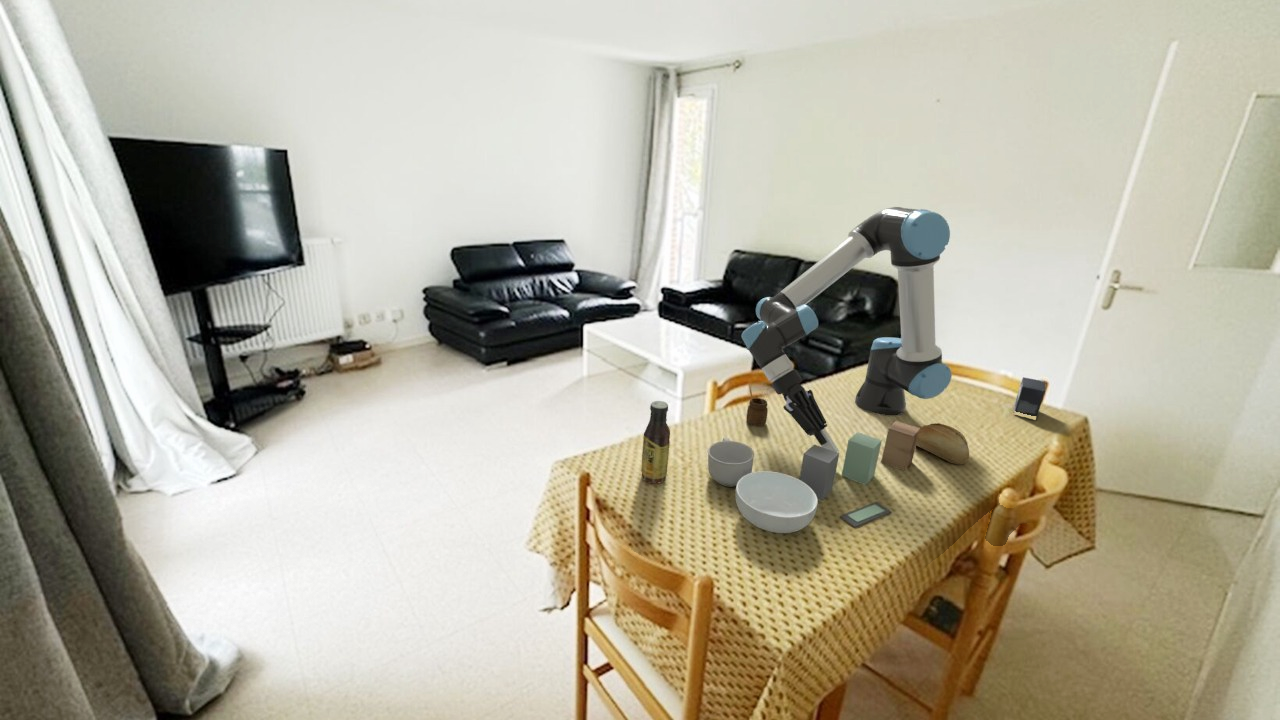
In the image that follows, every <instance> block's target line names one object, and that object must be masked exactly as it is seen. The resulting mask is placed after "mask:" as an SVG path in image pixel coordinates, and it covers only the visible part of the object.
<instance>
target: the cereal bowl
mask: <svg viewBox="0 0 1280 720" xmlns="http://www.w3.org/2000/svg"><path fill="white" fill-rule="evenodd" d="M799 479H800V478H799ZM799 479H798V478H797V477H794V476H792V475H789V474H787V473H783V472H779V471H778V472H777V471H771V470H770V471H767V470H766V471H761V470H760V471H754V472H752V473H750V474H747V475H745V476H743V477H742V478H741V479H740V480H739V481H738V483H737V486H735V493H734V494H735V503H736V505H737V508H738V510H739V513H740V514H741V515H742V516H743V517H744V519H746V520H747V521H748V522H749V523H750V524H751V525H753V526H754V527H757V528H759V529H761V530H764V531H766V532H771V533H775V534H776V533H777V534H788V533H790V534H791V533H794V532H798V531H800V530H802V529H804V528H806V527H807V526H808V525H809V524H811V522H812V520H813V519H814V517H815V515H816V512H817V507H818V503H819V500H818V499H817V496H816V494H815V493H814V491H813V490H812V489H811V488H810V487H809V486H808V485H807V484H805V483H804V482H802V481H800V480H799Z"/></svg>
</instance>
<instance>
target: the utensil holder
mask: <svg viewBox="0 0 1280 720" xmlns="http://www.w3.org/2000/svg"><path fill="white" fill-rule="evenodd" d="M748 387H749V388H748V389H749V395H750V400H749V403H748V406H747V409H746V419H745V421H746V423H747V422H748V423H749V425H750V424H751V425H750V426H753V427H762V426H765V425H766V423H767V421H768V400H767V398H768V399H769V398H770V395H771V393H770V392H771V391H770V390H769V389H768V388H765V389H763V391H762V392H761V394H762V395H761V397H753V394H752V393H753V392H752V388H751V387H752V386H751V385H750V384H748ZM766 391H767V393H768V395H769V396H768V395H766V397H765V394H766ZM748 423H747V424H748Z"/></svg>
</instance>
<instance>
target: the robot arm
mask: <svg viewBox="0 0 1280 720" xmlns="http://www.w3.org/2000/svg"><path fill="white" fill-rule="evenodd" d="M950 238H951V230H950V226H949V223H948V221H947V220H946V219H945V216H942V215H941V214H940V213H938V212H936V211H931V210H928V209H924V208H923V209H922V208H921V209H916V208H906V207H899V206H894V207H888V208H885V209H882V210H880V211H877V212H875V213H874V214H872V215H871V216H870V217H868V218H866V219H865V220H863V221H862V222H860V223H859V224H858V225H857V226H856V227H854V228H853V229H852V230H850V231H849V232H848V235H847V238H846V239H845V240H843V241H842V242H841V243H840V244H839V245H837V246H836V247H835V248H833V249H832V250H831V251H830V252H828V254H826V255H825V256H823V257H822V258H821V259H819V261H817V262H815V263H814V264H813V265H812V266H811V267H810V268H808V269H807V270H806V271H805V272H803V273H802V274H800V275H799V276H798V277H797V278H796V279H794V280H793V281H792V282H790V283H789V284H788V285H787V286H786V287H785V288H783V289H782V290H781V291H779V292H778V293H777V294H776V295H774V296H772V297H771V296H766V297H764V298H762V299H760V300H759V301H758V302H757V303H756V307H755V314H756V317H757V318H758V319H759V320H758V321H757V322H755V323H752V325H750V326H748V327H747V328H746V329H744V330H743V332H742V333H741V340H742V341H743V342H744V344H745V347H746V349H747V350H748V351H749V353H750V354H751V356H752V357H753V359H754V360H755V362H756V363H757V365H758V366H759V368H760V369H761V370H762V372H763V375H765V377H766V379H767V380H768V381H769V382H771V387H772V388H773V390H774V391H775V393H776V394H777V395H782V396H783V399H784V401H785V402H786V403H785V405H783V407H782V408H783V410H785V411H786V412H787V413H788V414H790V416H791V417H792V418H793V420H795V422H796V423H797V425H799V426H800V428H801V429H802V430H803V432H804V433H805V434H807V436H810V437H812V436H814V437H815V439H816V440H817V441H818V443H819V446H820V447H823V448H826V449H828V450H831V451H834V452H837V453H839V448H838V447H837V445H836V444H835V442H834V440H833V439H832V437H831V436H830V435H829V433H828V432H827V430H826V429H825V428H827V427H828V424H827V421H826V418H825V417H824V414H823V413H822V411H821V408H820V406H819V405H818V403H817V401H816V399H815V397H814V392H813V390H811V389H809V390H806V389H805V387H803V386H802V384H801V383H802V381H803V378H802V377H801V375H800V374H799V372H798V370H797V369H795V368H794V364H793V362H792V361H791V360H790V358H789V357H788V356H787V354H786V352H785V351H784V349H785V348H787V347H788V346H790V345H791V344H794V343H795V342H797V341H799V340H800V339H802V338H803V337H806V336H808V335H809V334H810V333H811V332H813V331H814V330H816V329H817V328H818V327H819V318H818V317H817V315H816V313H815V311H814V310H813V309H812V308H811V306H809V305H807V304H808V303H809V302H811V301H812V300H814V299H815V298H816V297H818V296H819V295H820V294H821V293H823V292H824V291H825V290H826V289H828V288H829V287H830V286H831V285H833V284H834V283H835V282H837V281H838V280H839V279H840V278H842V277H843V276H844V275H845V274H846V273H848V272H849V271H850V270H852V269H853V268H854V267H855V266H857V265H858V264H859V263H860V262H862V261H863V260H864V259H872V258H873V257H874V256H875V255H877V254H878V253H880V252H883V251H888V252H889V251H890V263H891V266H892V267H894V268H896V269H897V278H898V279H897V280H898V282H897V283H898V298H899V299H898V302H899V314H900V315H899V320H900V335H901V336H900V338H899V337H891V336H890V337H887V336H885V337H884V336H883V337H877V338H876V339H874V340H873V342H872V345H871V347H870V352H869V359H868V364H867V368H866V374H865V379H864V382H863V383H862V384H861V387H860V388H859V389H858V391H857V393H856V394H855V401H854V403H855V405H857V407H859V408H861V409H862V410H864V411H866V412H869V413H871V414H872V413H873V414H876V415H881V416H889V417H890V416H892V417H893V416H901V415H903V414H904V413H905V412H906V408H907V407H906V406H907V402H906V395H905V392H907V393H909V395H912V396H915V397H917V398H919V399H920V400H921V399H922V400H928V399H933V398H935V397H938V396H939V395H941V394H942V393H943V392H944V391H945V390H946V389H947V388H948V386H949V385H950V383H951V381H952V373H953V372H952V369H951V367H949V366H948V365H947V364H946V363H943V353H942V352H943V351H942V349H941V347H940V346H938V345H937V344H936V316H935V314H936V312H935V308H936V307H935V276H934V272H935V271H934V269H935V268H934V266H935V264H937V263H938V262H939V261H940V259H941V254H942V253H943V252H944V251H945V250H946V246H948V244H949V242H950Z"/></svg>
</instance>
